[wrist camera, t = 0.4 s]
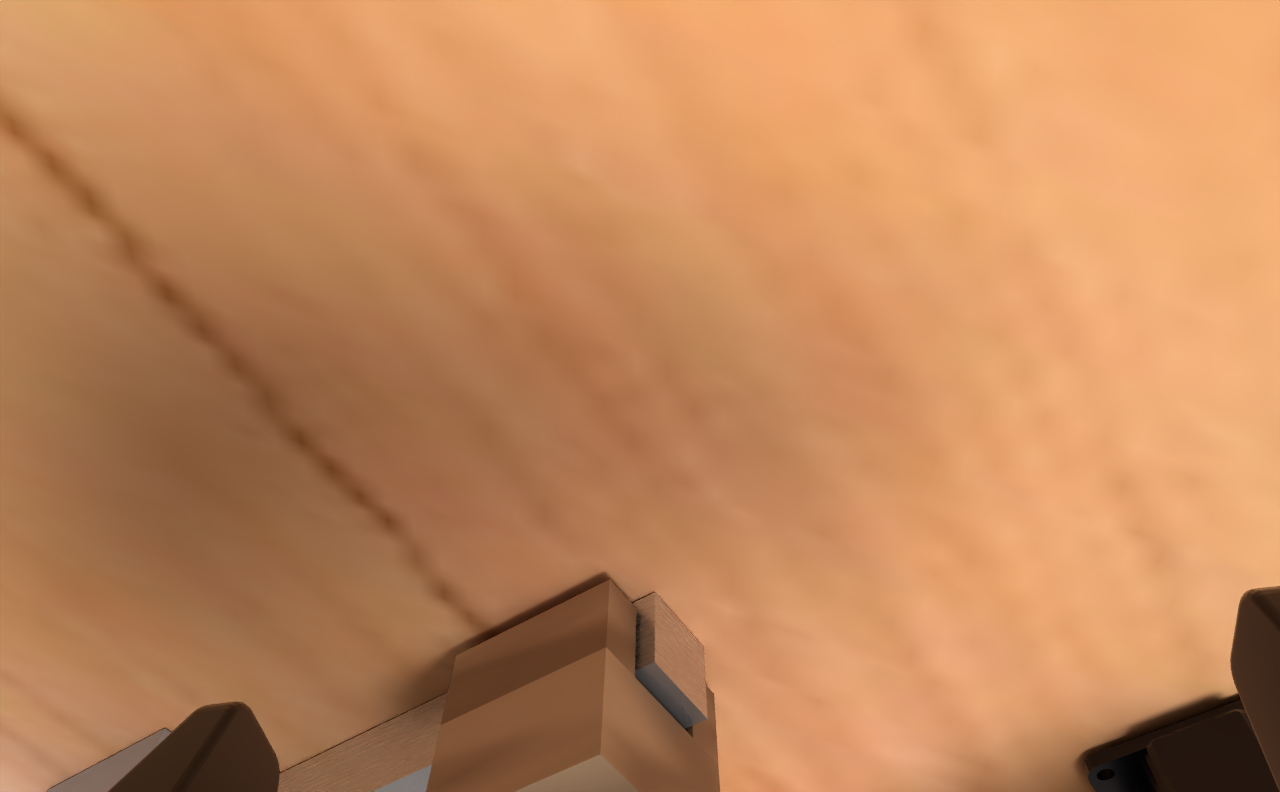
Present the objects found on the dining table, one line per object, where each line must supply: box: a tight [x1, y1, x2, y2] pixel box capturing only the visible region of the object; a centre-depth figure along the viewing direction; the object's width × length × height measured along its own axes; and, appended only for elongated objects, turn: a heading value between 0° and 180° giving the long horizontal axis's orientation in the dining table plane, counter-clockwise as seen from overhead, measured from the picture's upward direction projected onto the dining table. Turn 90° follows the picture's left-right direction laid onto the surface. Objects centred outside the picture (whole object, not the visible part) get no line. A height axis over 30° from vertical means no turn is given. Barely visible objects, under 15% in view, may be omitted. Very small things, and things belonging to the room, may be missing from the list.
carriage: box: [426, 579, 720, 792], centre depth 25 cm, size 5×5×5 cm
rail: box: [278, 592, 708, 792], centre depth 28 cm, size 2×15×2 cm, turn 124°
